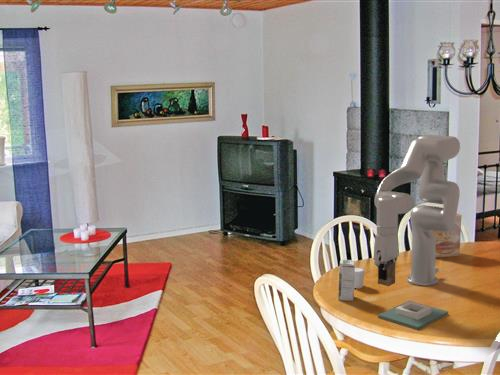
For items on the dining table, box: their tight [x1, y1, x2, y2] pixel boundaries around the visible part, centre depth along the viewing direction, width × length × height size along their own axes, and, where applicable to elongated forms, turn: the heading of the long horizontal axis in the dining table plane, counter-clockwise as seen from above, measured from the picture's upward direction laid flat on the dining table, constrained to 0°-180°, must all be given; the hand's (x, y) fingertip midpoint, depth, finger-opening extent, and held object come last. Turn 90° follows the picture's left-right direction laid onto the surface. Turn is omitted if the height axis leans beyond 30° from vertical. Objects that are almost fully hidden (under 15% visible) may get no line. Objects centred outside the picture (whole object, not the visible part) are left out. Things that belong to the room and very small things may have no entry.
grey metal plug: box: [377, 261, 396, 287], centre depth 248 cm, size 4×4×8 cm
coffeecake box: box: [432, 213, 463, 258], centre depth 310 cm, size 15×7×20 cm, turn 104°
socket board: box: [377, 300, 449, 331], centre depth 237 cm, size 20×16×3 cm
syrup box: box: [337, 259, 356, 302], centre depth 254 cm, size 6×6×14 cm
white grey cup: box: [354, 266, 366, 289], centre depth 269 cm, size 7×7×7 cm
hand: (386, 277), depth 248 cm, fingers closed on grey metal plug, 4 cm apart
